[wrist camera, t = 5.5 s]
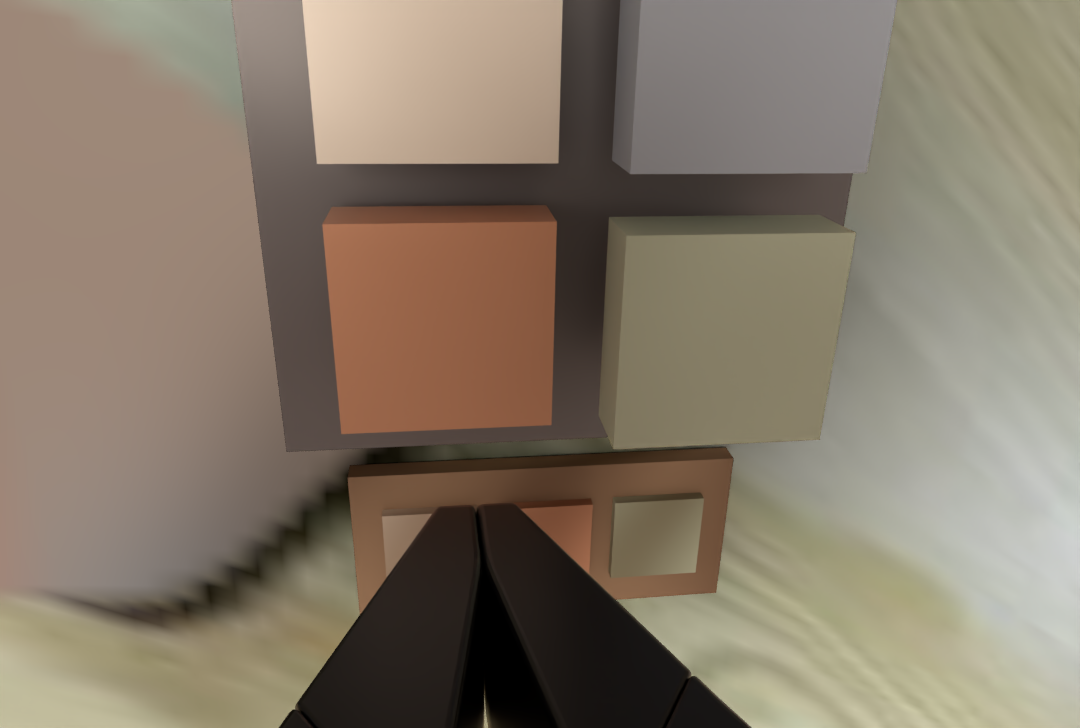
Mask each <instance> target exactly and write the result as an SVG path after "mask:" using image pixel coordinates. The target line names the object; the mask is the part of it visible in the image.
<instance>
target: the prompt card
mask: <svg viewBox="0 0 1080 728" xmlns="http://www.w3.org/2000/svg"><path fill="white" fill-rule="evenodd" d="M732 466H733V457H732V456H731V454H730V453H729V451H728V450H727V448H726V447H724V448H703V449H682V450H661V451H640V452H620V453H599V454H578V455H557V456H536V457H515V458H494V459H474V460H453V461H432V462H411V463H390V464H369V465H350V467H349V473H348V487H349V498H350V510H351V521H352V532H353V543H354V554H355V566H356V577H357V588H358V599H359V610H360V614H361V613H362V611H363V610H364V609H365V607H366V606H367V604H368V603H369V602H370V600H371V599H372V597H373V596H374V595H375V593H376V592H377V590H378V589H379V588H380V586H381V585H382V583H383V582H384V581H385V579H386V578H387V576H388V575H389V574H390V572H391V571H392V569H393V568H394V567H395V565H396V564H397V562H398V561H399V560H400V558H401V557H402V555H403V554H404V553H405V551H406V550H407V548H408V547H409V546H410V544H411V543H412V541H413V540H414V539H415V537H416V536H417V534H418V533H419V532H420V530H421V529H422V527H423V526H424V525H425V523H426V522H427V520H428V519H429V518H430V516H431V515H432V513H433V512H434V511H435V509H436V508H438V507H440V506H452V505H472V506H473V507H474V508H475V509H476V510H477V507H478V506H479V505H481V504H489V503H506V502H511V503H514V504H516V505H517V506H518V507H519V508H520V509H521V510H522V511H523V512H524V513H526V514H527V515H528V516H529V517H530V518H531V519H532V520H533V521H534V522H535V523H536V524H537V525H538V526H539V527H540V528H541V529H542V530H543V531H544V532H545V533H546V534H547V535H549V536H550V537H551V538H552V539H553V540H554V541H555V542H556V543H557V544H558V545H559V546H560V547H561V548H562V549H563V550H564V551H565V552H566V553H567V554H568V555H569V556H570V557H572V558H573V559H574V560H575V561H576V562H577V563H578V564H579V565H580V566H581V567H582V568H583V569H584V570H585V571H586V572H587V573H588V574H589V575H590V576H591V577H592V578H593V579H595V580H596V581H597V582H598V583H599V584H600V585H601V586H602V587H603V588H604V589H605V590H606V591H607V592H608V593H609V594H610V595H611V596H612V597H613V598H614V599H615V600H617V599H631V598H646V597H660V596H674V595H688V594H702V593H716V589H717V581H718V574H719V566H720V558H721V551H722V543H723V535H724V527H725V520H726V512H727V504H728V497H729V489H730V481H731V474H732Z"/></svg>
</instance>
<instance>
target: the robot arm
mask: <svg viewBox="0 0 1080 728" xmlns="http://www.w3.org/2000/svg"><path fill="white" fill-rule="evenodd" d="M484 696H485V706H486V716H487V722H488V728H751V727H750V726H749V725H748V724H747V723H746V722H745V721H744V720H743V719H741V718H740V717H739V716H738V715H737V714H736V713H735V712H734V711H733V710H732V709H730V708H729V707H728V706H727V705H726V704H725V703H724V702H723V701H722V700H720V699H719V698H718V697H717V696H716V695H715V694H714V693H713V692H712V691H711V690H710V689H709V688H708V687H707V686H706V685H705V684H704V683H703V682H702V681H701V680H700V679H698V678H697V677H696V676H692V677H691V672H690V670H689V669H688V668H687V667H685V666H684V665H683V664H682V663H681V662H680V661H679V660H678V659H677V658H676V657H675V656H674V655H673V654H672V653H671V652H670V651H669V650H668V649H667V648H666V647H665V646H664V645H662V644H661V643H660V642H659V641H658V640H657V639H656V638H655V637H654V636H653V635H652V634H651V633H650V632H649V631H648V630H647V629H646V628H645V627H644V626H643V625H642V624H641V623H639V622H638V621H637V620H636V619H635V618H634V617H633V616H632V615H631V614H630V613H629V612H628V611H627V610H626V609H625V608H624V607H623V606H622V605H621V604H620V603H619V602H618V601H616V600H615V599H614V598H613V597H612V596H611V595H610V594H609V593H608V592H607V591H606V590H605V589H604V588H603V587H602V586H601V585H600V584H599V583H598V582H597V581H596V580H595V579H593V578H592V577H591V576H590V575H589V574H588V573H587V572H586V571H585V570H584V569H583V568H582V567H581V566H580V565H579V564H578V563H577V562H576V561H575V560H574V559H573V558H572V557H570V556H569V555H568V554H567V553H566V552H565V551H564V550H563V549H562V548H561V547H560V546H559V545H558V544H557V543H556V542H555V541H554V540H553V539H552V538H551V537H550V536H549V535H547V534H546V533H545V532H544V531H543V530H542V529H541V528H540V527H539V526H538V525H537V524H536V523H535V522H534V521H533V520H532V519H531V518H530V517H529V516H528V515H527V514H526V513H524V512H523V511H522V510H521V509H520V508H519V507H518V506H517V505H516V504H514V503H511V502H506V503H489V504H481V505H479V506H478V507H477V510H476V509H475V508H474V507H473V506H472V505H452V506H440V507H438V508H436V509H435V511H434V512H433V513H432V515H431V516H430V518H429V519H428V520H427V522H426V523H425V525H424V526H423V527H422V529H421V530H420V532H419V533H418V534H417V536H416V537H415V539H414V540H413V541H412V543H411V544H410V546H409V547H408V548H407V550H406V551H405V553H404V554H403V555H402V557H401V558H400V560H399V561H398V562H397V564H396V565H395V567H394V568H393V569H392V571H391V572H390V574H389V575H388V576H387V578H386V579H385V581H384V582H383V583H382V585H381V586H380V588H379V589H378V590H377V592H376V593H375V595H374V596H373V597H372V599H371V600H370V602H369V603H368V604H367V606H366V607H365V609H364V610H363V611H362V613H361V614H360V616H359V617H358V618H357V620H356V621H355V623H354V624H353V625H352V627H351V628H350V630H349V631H348V632H347V634H346V635H345V637H344V638H343V639H342V641H341V642H340V644H339V645H338V646H337V648H336V649H335V651H334V652H333V653H332V655H331V656H330V658H329V659H328V660H327V662H326V663H325V665H324V666H323V667H322V669H321V670H320V672H319V673H318V674H317V676H316V677H315V679H314V680H313V681H312V683H311V684H310V686H309V687H308V688H307V690H306V691H305V693H304V694H303V695H302V697H301V698H300V700H299V701H298V702H297V704H296V706H295V710H292V711H291V712H290V713H289V714H288V716H287V717H286V718H285V720H284V721H283V723H282V724H281V726H280V727H279V728H484Z"/></svg>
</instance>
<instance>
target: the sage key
mask: <svg viewBox="0 0 1080 728" xmlns="http://www.w3.org/2000/svg"><path fill="white" fill-rule="evenodd" d="M855 236H856V232H854V231H852V230H850V229H848V228H846V227H844V226H841V225H839V224H837V223H835V222H833V221H831V220H829V219H827V218H825V217H823V216H821V215H738V216H644V217H609V226H608V245H607V265H606V284H605V303H604V322H603V341H602V360H601V379H600V398H599V417H600V420H601V422H602V424H603V427H604V429H605V431H606V434H607V436H608V438H609V441H610V443H611V445H612V448H613V449H634V448H655V447H676V446H697V445H718V444H739V443H760V442H781V441H803V440H820V434H821V428H822V423H823V417H824V411H825V406H826V400H827V394H828V389H829V383H830V377H831V372H832V366H833V360H834V355H835V349H836V343H837V338H838V332H839V327H840V321H841V315H842V310H843V304H844V298H845V293H846V287H847V281H848V276H849V270H850V264H851V259H852V253H853V247H854V242H855Z"/></svg>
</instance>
